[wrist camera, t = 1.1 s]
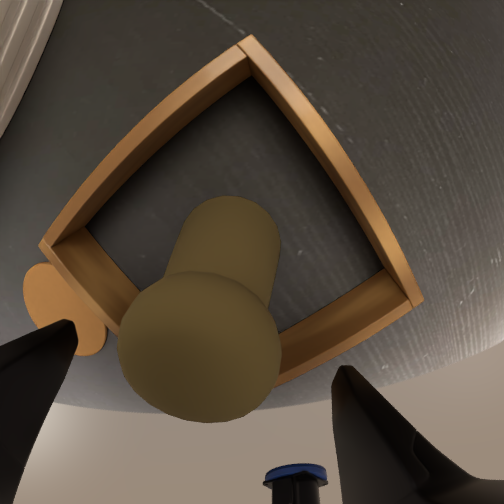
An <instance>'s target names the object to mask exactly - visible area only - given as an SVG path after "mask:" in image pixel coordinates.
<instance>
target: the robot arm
mask: <svg viewBox="0 0 504 504" xmlns="http://www.w3.org/2000/svg"><path fill="white" fill-rule="evenodd" d="M78 343H79V339H78V335H77V331H76V327H75V324H74V322H73V321H71V320H68V319H61V320H59V321H56V322H54V323H52V324H50V325H47V326H45V327H43V328H40V329H38V330H36V331H33V332H31V333H29V334H27V335H24V336H22V337H20V338H17V339H15V340H13V341H11V342H8V343H6V344H4V345H1V346H0V504H13V501H14V498H15V495H16V492H17V488H18V486H19V483H20V480H21V477H22V474H23V472H24V469H25V468H24V467H25V466H26V463H27V461H28V458H29V455H30V453H31V450H32V448H33V445H34V443H35V441H36V438H37V436H38V434H39V431H40V429H41V427H42V425H43V422H44V420H45V418H46V416H47V414H48V412H49V409H50V407H51V405H52V403H53V401H54V399H55V397H56V395H57V393H58V391H59V389H60V387H61V385H62V383H63V381H64V379H65V376H66V374H67V372H68V369H69V366H70V364H71V361H72V359H73V356H74V354H75V352H76V349H77V347H78ZM331 393H332V421H333V433H334V440H335V447H336V454H337V461H338V468H339V475H340V484H341V492H342V501H343V504H504V480H486V479H480V478H476V477H473V476H472V475H470V474H468V473H467V472H465V471H464V470H463V469H461V468H460V467H459V466H457V465H456V464H455V463H454V462H453V461H451V460H450V459H449V458H447V457H446V456H445V455H444V454H442V453H441V452H440V451H439V450H438V449H436V448H435V447H434V446H433V445H432V444H431V443H430V442H429V441H428V440H427V439H426V438H424V437H423V436H422V435H421V434H420V433H419V432H418V431H416V429H415V428H414V427H413V426H412V425H411V424H410V423H409V422H408V421H407V420H406V419H405V418H404V417H403V416H402V415H401V414H400V413H399V412H398V411H397V410H396V409H395V408H394V407H393V406H392V405H391V404H390V403H389V402H388V401H387V400H386V399H385V398H384V397H383V396H382V395H381V394H380V393H379V392H378V391H377V390H376V389H375V388H374V387H373V386H372V385H371V384H370V383H369V382H368V381H367V380H366V379H365V378H364V377H363V376H362V375H361V374H360V373H359V372H358V371H357V370H356V369H355V368H354V367H353V366H350V365H341V366H340V367H339V368H338V371H337V373H336V375H335V377H334V379H333V382H332V386H331ZM327 484H328V481H327V480H325V479H323V478H321V477H318V476H316V475H314V474H312V473H310V472H309V471H301V472H298V473H294V474H291V475H287V476H283V477H279V478H276V479H272V480H267V481H264V482H263V485H264V486H266V487H269V488H271V489H272V504H320V498H319V487H321V486H325V485H327Z"/></svg>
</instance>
